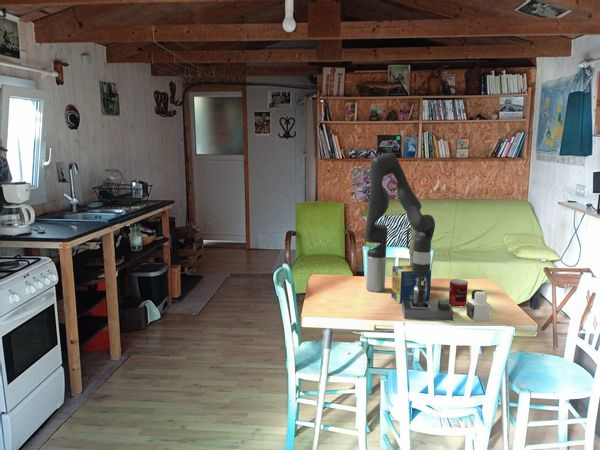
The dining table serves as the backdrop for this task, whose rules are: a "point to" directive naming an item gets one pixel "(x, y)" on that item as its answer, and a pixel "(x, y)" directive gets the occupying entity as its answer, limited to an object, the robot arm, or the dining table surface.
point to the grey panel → (428, 310)
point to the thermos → (411, 243)
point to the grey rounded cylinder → (416, 303)
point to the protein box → (406, 283)
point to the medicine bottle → (478, 306)
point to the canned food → (458, 292)
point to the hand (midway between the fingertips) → (419, 299)
